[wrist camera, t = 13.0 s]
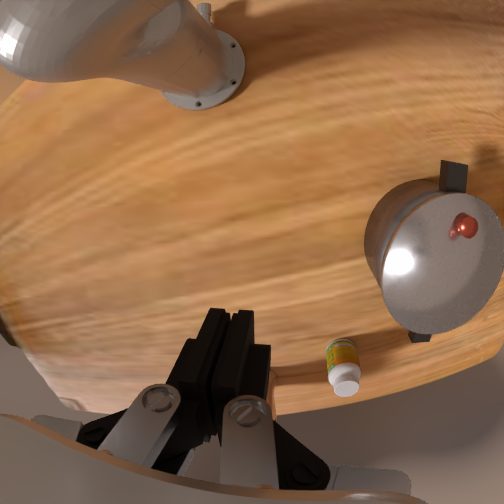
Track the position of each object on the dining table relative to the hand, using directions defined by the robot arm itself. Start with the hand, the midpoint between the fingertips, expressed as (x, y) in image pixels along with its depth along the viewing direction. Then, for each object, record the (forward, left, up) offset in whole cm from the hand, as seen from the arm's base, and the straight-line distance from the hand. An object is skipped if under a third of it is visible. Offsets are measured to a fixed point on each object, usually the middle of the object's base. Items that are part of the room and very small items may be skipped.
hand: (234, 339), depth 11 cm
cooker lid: (+6, +22, -21) cm, 31 cm away
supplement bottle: (+27, +12, -31) cm, 43 cm away
